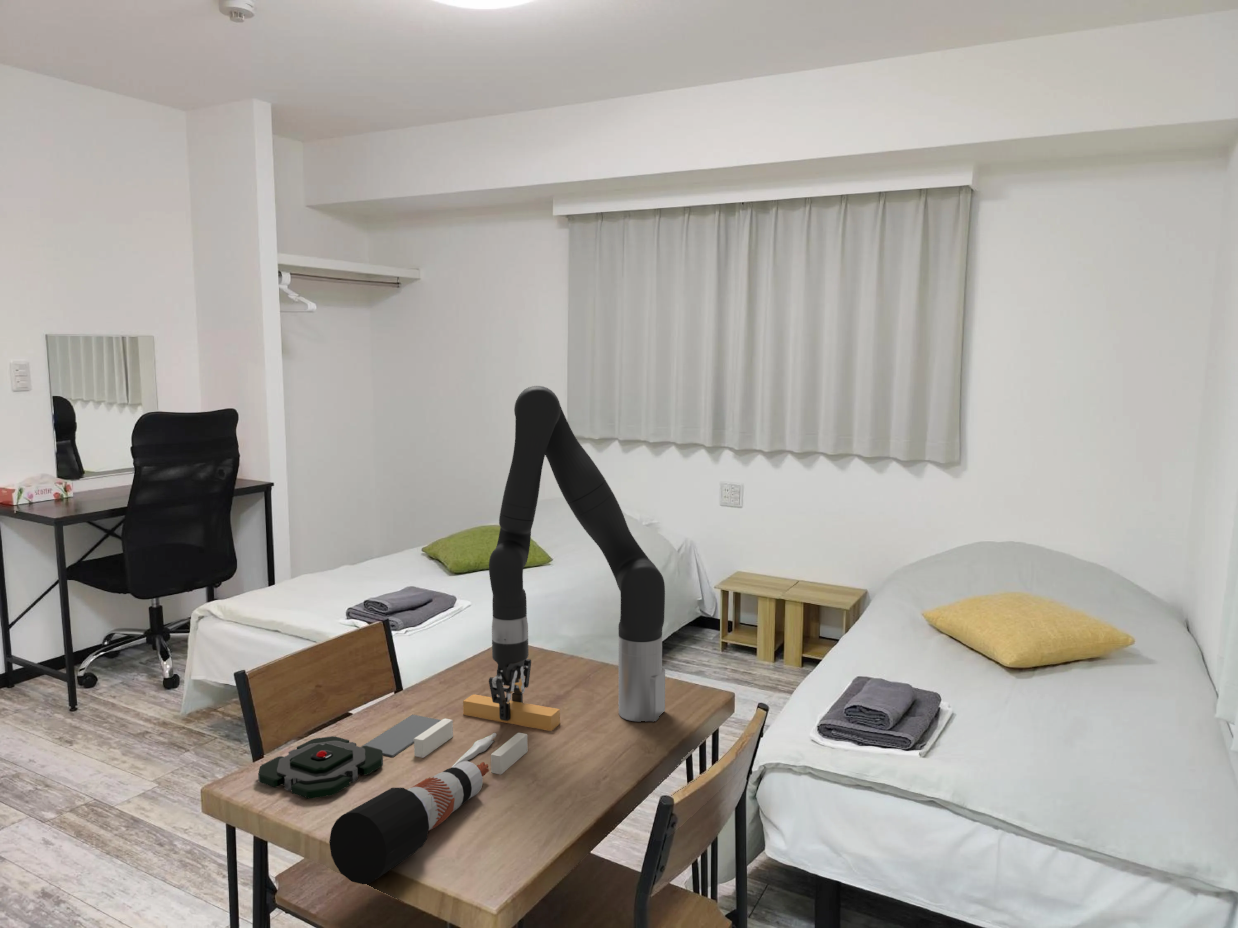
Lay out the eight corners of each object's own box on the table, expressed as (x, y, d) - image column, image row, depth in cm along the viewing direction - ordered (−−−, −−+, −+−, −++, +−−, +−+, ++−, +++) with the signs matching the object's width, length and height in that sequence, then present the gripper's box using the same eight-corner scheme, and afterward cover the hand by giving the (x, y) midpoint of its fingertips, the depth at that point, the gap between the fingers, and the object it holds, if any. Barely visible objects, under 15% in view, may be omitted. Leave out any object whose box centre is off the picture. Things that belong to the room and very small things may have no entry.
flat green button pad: (324, 744, 168) (323, 722, 168) (394, 764, 160) (393, 741, 159) (247, 784, 152) (246, 760, 152) (320, 809, 144) (319, 783, 144)
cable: (493, 808, 152) (517, 762, 150) (368, 898, 121) (397, 843, 119) (451, 773, 156) (474, 728, 154) (319, 852, 124) (346, 797, 122)
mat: (444, 722, 178) (444, 720, 178) (392, 756, 162) (392, 754, 162) (412, 716, 181) (412, 714, 181) (359, 749, 165) (359, 747, 165)
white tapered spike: (489, 738, 171) (489, 729, 170) (501, 740, 170) (501, 731, 169) (445, 771, 157) (444, 761, 157) (457, 774, 156) (456, 764, 156)
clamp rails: (527, 751, 164) (527, 734, 164) (500, 774, 155) (500, 756, 155) (444, 734, 172) (444, 718, 171) (414, 755, 163) (413, 738, 162)
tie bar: (560, 725, 177) (559, 709, 177) (551, 732, 174) (550, 716, 173) (473, 709, 185) (473, 694, 185) (463, 716, 182) (463, 700, 181)
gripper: (508, 649, 169) (509, 731, 171) (542, 628, 182) (543, 705, 185) (476, 644, 172) (477, 725, 174) (511, 624, 185) (513, 699, 187)
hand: (511, 714), depth 179 cm, fingers open, 4 cm apart
